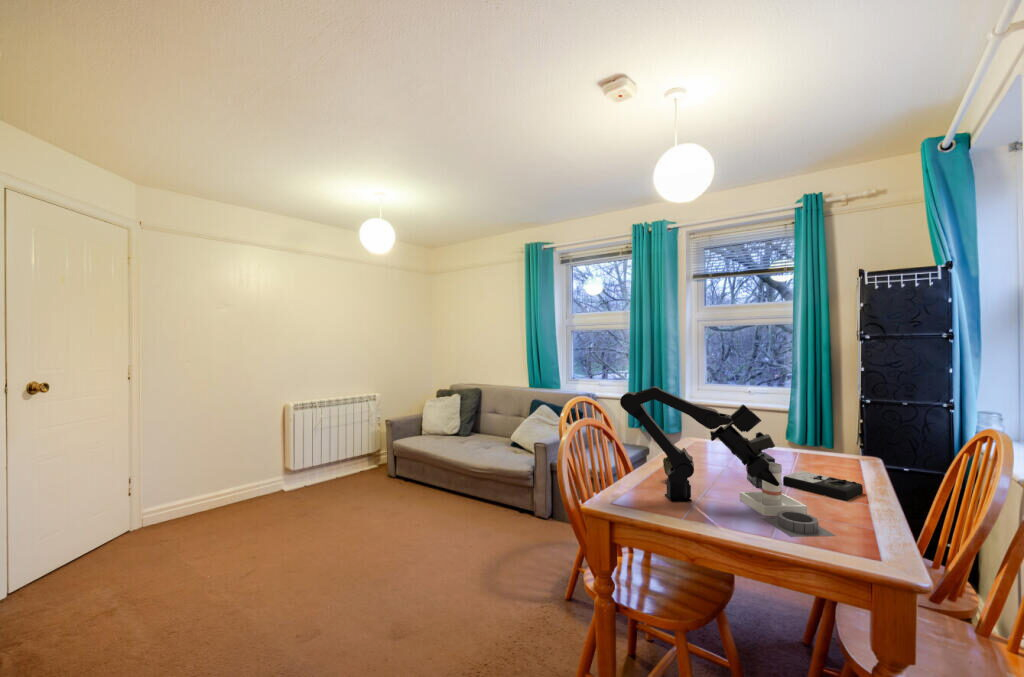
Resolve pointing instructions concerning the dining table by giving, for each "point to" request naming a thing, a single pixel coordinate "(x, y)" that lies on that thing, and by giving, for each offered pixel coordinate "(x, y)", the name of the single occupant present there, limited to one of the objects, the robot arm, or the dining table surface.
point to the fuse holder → (798, 524)
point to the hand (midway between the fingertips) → (776, 482)
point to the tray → (756, 503)
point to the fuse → (772, 487)
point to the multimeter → (823, 485)
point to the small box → (755, 480)
